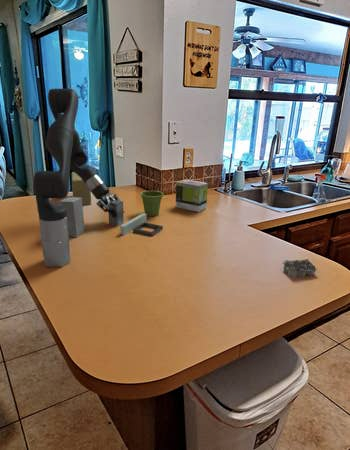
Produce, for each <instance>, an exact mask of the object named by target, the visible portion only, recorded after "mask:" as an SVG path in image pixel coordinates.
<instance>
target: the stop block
mask: <svg viewBox="0 0 350 450" xmlns="http://www.w3.org/2000/svg"><path fill="white" fill-rule="evenodd" d="M119 200H120V199H119ZM119 200H112V201H110V202H109V203H110V206H111V207H112V209H113V210H114V211H115V213H116V214H117V217H116V218H114V217H112V215H111V214H110V213H109V212H107V213H108V225H110V226H114V227H119V226H121V225H123V224H124V223H125V222H124V219H125V218H124V213H123V211H124V200H120V201H119ZM108 208H109V207H108Z"/></svg>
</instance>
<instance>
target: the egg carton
mask: <svg viewBox="0 0 350 450" xmlns="http://www.w3.org/2000/svg"><path fill="white" fill-rule="evenodd" d="M282 264H283V269H282V271H283V270H284V271H283V272H285V271H287V272H286V273H287V275H288V277H293V278H297V277H298V276H299V275H300V277H302V276H303V277H306V274H308V275H307V276H310V275H311V277H313V276H314V275H315V273H316V271H318V268H316V266H315V265H314V264H313V263H312V262H310V260H309V259H308V258H307V259H303V260H302V259H301V260H299V259H296V260H295V259H294V260H288V259H287V260H284V261H283V262H282ZM294 267H295V268H294ZM312 275H313V276H312Z"/></svg>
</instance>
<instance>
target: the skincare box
mask: <svg viewBox="0 0 350 450" xmlns="http://www.w3.org/2000/svg"><path fill="white" fill-rule="evenodd" d="M59 205H60V206H63V207H65V208H66V211H67V222H68V235H69V237H71V238H74V237H75V238H78V237H79V236H80V235H81V234H84V232H85V221H84V210H83V209H84V208H83V206H82V198H78V197H73V196H67V197H65V198H62V200H60V201H59Z"/></svg>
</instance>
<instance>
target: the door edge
mask: <svg viewBox="0 0 350 450" xmlns="http://www.w3.org/2000/svg"><path fill="white" fill-rule="evenodd" d="M147 216H148V215H147V214H145V212H143V213H141V214H139V215H137V216H136V217H134V218H132V219H130V220H128V221H125V222H124V223H123V224H121V225H119V226H120V231H119V232H120V233H119V234H120V235H122V236H125V235H127V234H129V233H131V232H133V229H134V228H135V227H137V226H139V225H140V224H142V223H144V222H145V223H147V218H148V217H147Z"/></svg>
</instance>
